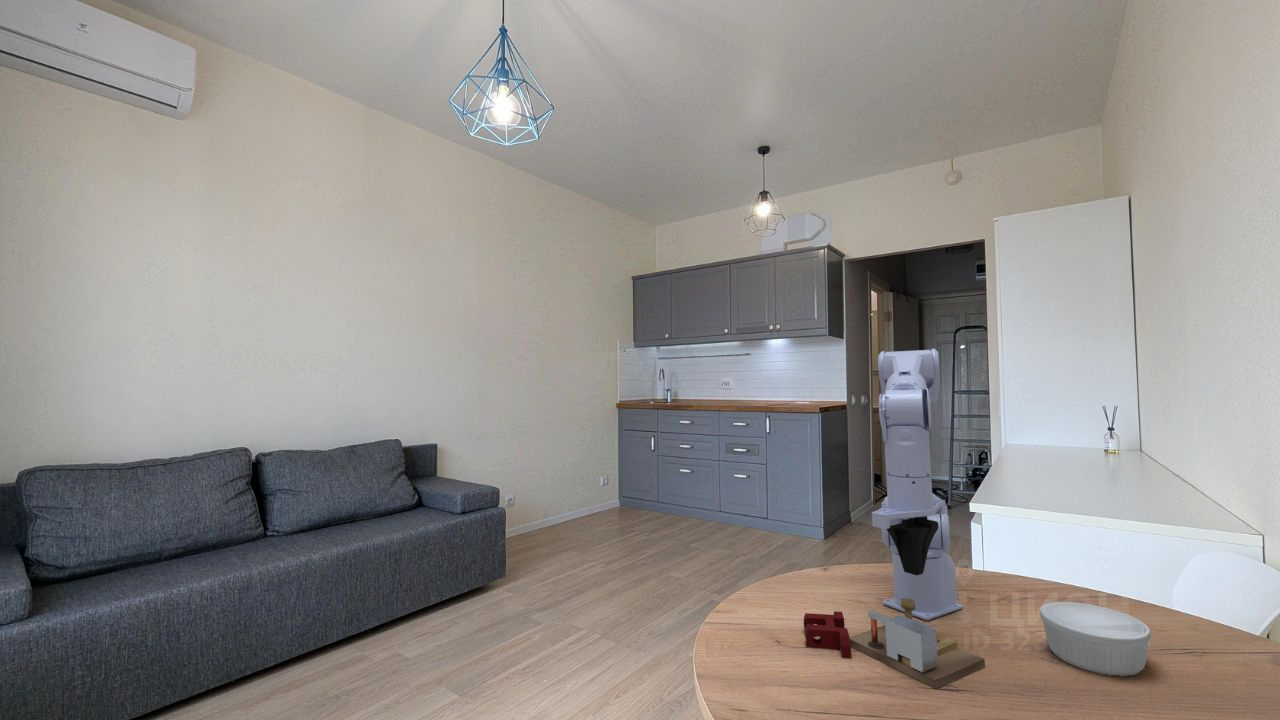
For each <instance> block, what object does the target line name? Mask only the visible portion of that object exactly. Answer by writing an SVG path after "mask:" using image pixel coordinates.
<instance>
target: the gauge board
mask: <svg viewBox="0 0 1280 720" xmlns="http://www.w3.org/2000/svg"><path fill="white" fill-rule="evenodd" d="M901 608H902V609H905V612H904V616H905V617H907V618H910V619H913V615H912V610H915V601H914V600H912V599H908V598H903V599H901ZM877 630H878V643H873V642H872V637H871V629H870V630H867V631H864V632H860V633H858V634H855V635H852V636H849V637H850V645H851V649H852V648H853V649H854V650H856V651H859V652H861V653H863V654H865V655H867V656H869V657H870V658H873V659H875V660H877V661H879V662H880V663H884V664H885V665H887V666H889V667H891V668H893V669H895V670H897V671H899V672H901V673H904V674H906V675H907V676H910V677H912V678H913V679H915V680H917V681H919V682H922V683H924V684H926V685H928V686H930V687H931V688H933V689H935V690H937V689H939V688H941V687H943V686H946V685H947V684H950V683H952V682H954V681H957V680H958V679H961V678H962V677H965V676H967V675H968V676H969V675H970V674H973V673H974V672H977V671H978V670H980V669H981V670H982V669H983V668H985V667H986V659H985V658H984V657H982V656H979V655H977V654H975V653H972V652H969V651H967V650H965V649H962V648H959V647H958V641H956V640H953V639H950V638H946V639H944V640H940V639H938V638H937V655H938V666H937V667H934V668H932V669H930V670H927V671H925V672H921V671H919V670H917V669H915V668H912V667H911V662H910V659H909V658H907V657H904V656H902V659H901V660H896V659H893V658H891V657H889V656H887V648H886V628H885V624H884V625H881V626H877Z"/></svg>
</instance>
